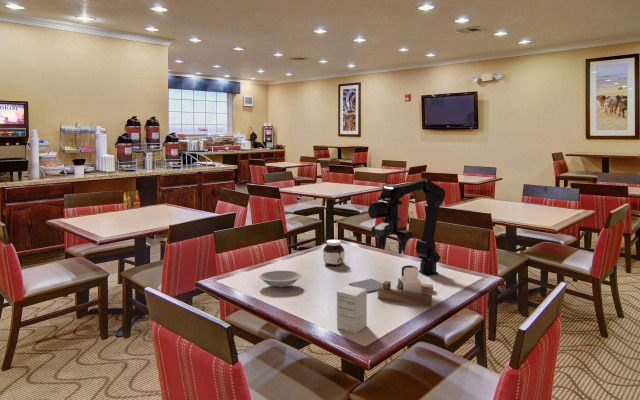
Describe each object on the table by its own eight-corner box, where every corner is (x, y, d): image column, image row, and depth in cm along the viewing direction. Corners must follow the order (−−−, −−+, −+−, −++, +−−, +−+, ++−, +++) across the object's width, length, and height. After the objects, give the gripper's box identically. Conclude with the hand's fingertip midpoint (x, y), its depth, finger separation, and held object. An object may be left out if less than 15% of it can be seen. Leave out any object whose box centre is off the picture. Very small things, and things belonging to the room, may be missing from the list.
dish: (303, 281, 185) (303, 270, 184) (299, 293, 171) (299, 281, 170) (262, 281, 186) (262, 270, 185) (256, 292, 172) (255, 280, 171)
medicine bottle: (397, 293, 170) (398, 264, 168) (415, 293, 171) (416, 263, 169) (402, 300, 163) (402, 269, 161) (420, 299, 164) (421, 269, 162)
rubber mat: (371, 279, 187) (371, 278, 187) (389, 287, 177) (389, 286, 177) (348, 284, 181) (348, 283, 181) (366, 293, 171) (366, 291, 171)
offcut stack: (399, 285, 180) (399, 279, 180) (433, 290, 174) (433, 284, 173) (396, 288, 176) (396, 283, 175) (430, 294, 170) (431, 288, 169)
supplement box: (347, 320, 145) (348, 284, 143) (367, 326, 141) (367, 288, 139) (336, 328, 139) (336, 291, 137) (356, 334, 135) (356, 295, 133)
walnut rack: (381, 294, 169) (382, 280, 168) (433, 303, 160) (433, 287, 159) (378, 298, 165) (378, 283, 164) (430, 307, 156) (431, 291, 155)
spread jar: (329, 267, 205) (329, 244, 203) (317, 262, 215) (317, 239, 213) (349, 264, 211) (350, 241, 209) (337, 258, 221) (337, 236, 219)
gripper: (362, 215, 183) (362, 251, 185) (396, 221, 169) (396, 260, 171) (379, 212, 190) (380, 246, 193) (414, 217, 176) (413, 254, 178)
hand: (391, 251), depth 183 cm, fingers open, 9 cm apart
